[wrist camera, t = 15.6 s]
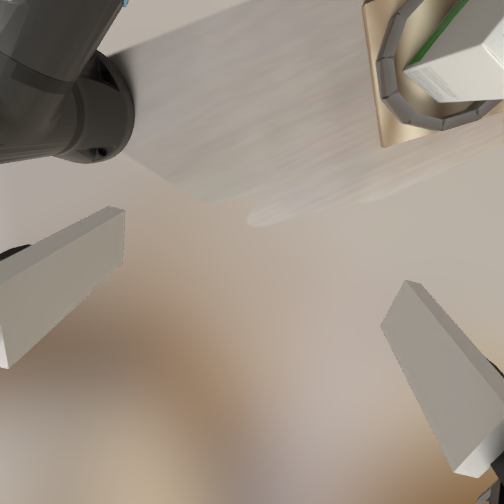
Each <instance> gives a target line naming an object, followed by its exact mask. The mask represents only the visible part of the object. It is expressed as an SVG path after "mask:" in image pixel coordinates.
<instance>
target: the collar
mask: <svg viewBox="0 0 504 504" xmlns="http://www.w3.org/2000/svg"><path fill="white" fill-rule="evenodd" d="M457 1H459V0H374V1H372V2H369V3H367V4H364V6H363V7H362V13H363V20H364V27H365V34H366V41H367V48H368V55H369V62H370V69H371V76H372V84H373V91H374V98H375V105H376V112H377V119H378V126H379V133H380V140H381V147H383V148H385V147H389V146H392V145H395V144H398V143H402V142H405V141H408V140H411V139H415V138H418V137H421V136H424V135H428V134H431V133H434V132H438V131H444V130H448V129H451V128H454V127H457V126H461V125H464V124H467V123H471V122H474V121H477V120H479V119H481V118H483V117H487V116H490V115H493V114H496V113H500V112H503V111H504V99H497V100H479V101H461V102H443V103H437V102H436V101H435V100H434V99H433V98H432V97H431V96H429V95H428V94H427V93H426V92H425V91H424V90H423V89H421V88H420V87H419V86H418V85H417V84H416V83H415V82H413V81H412V80H411V79H410V78H409V77H408V76H407V75H406V74H405V73H404V72H403V69H404V68H405V66H406V65H407V64H408V63H409V62H410V60H411V59H412V58H413V57H414V55H415V54H416V53H417V52H418V50H419V49H420V48H421V46H422V45H423V44H424V43H425V41H426V40H427V39H428V37H429V36H430V35H431V34H432V32H433V31H434V30H435V28H436V27H437V26H438V25H439V23H440V22H441V21H442V20H443V19H444V17H445V16H446V15H447V14H448V12H449V11H450V10H451V8H452V7H453V6H454V5H455V3H456V2H457Z"/></svg>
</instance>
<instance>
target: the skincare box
mask: <svg viewBox="0 0 504 504" xmlns="http://www.w3.org/2000/svg"><path fill="white" fill-rule="evenodd" d="M403 72H404V73H405V74H406V75H407V76H408V77H409V78H410V79H411V80H412V81H413V82H415V83H416V84H417V85H418V86H419V87H420V88H421V89H423V90H424V91H425V92H426V93H427V94H428V95H429V96H431V97H432V98H433V99H434V100H435V101H436V102H437V103H443V102H461V101H479V100H497V99H504V0H459V1H457V2H456V3H455V5H454V6H453V7H452V8H451V10H450V11H449V12H448V14H447V15H446V16H445V17H444V19H443V20H442V21H441V22H440V23H439V25H438V26H437V27H436V28H435V30H434V31H433V32H432V34H431V35H430V36H429V37H428V39H427V40H426V41H425V43H424V44H423V45H422V46H421V48H420V49H419V50H418V52H417V53H416V54H415V55H414V57H413V58H412V59H411V60H410V62H409V63H408V64H407V65H406V66H405V68H404V69H403Z"/></svg>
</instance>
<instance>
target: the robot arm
mask: <svg viewBox="0 0 504 504" xmlns="http://www.w3.org/2000/svg"><path fill="white" fill-rule="evenodd" d="M127 4H128V0H0V164H3V163H9V162H15V161H21V160H28V159H34V158H41V157H48V156H54V157H58V158H61V159H64V160H68V161H71V162H76V163H83V164H90V163H97V162H102V161H105V160H108V159H111V158H113V157H114V156H116V155H117V154H119V153H120V152H121V151H122V150H123V148H124V147H125V146H126V144H127V143H128V141H129V139H130V136H131V134H132V130H133V125H134V107H133V102H132V97H131V94H130V91H129V88H128V86H127V84H126V82H125V80H124V78H123V76H122V75H121V73H120V72H119V70H118V69H117V68H116V66H115V65H114V64H113V63H112V62H111V61H110V60H109V59H108V58H107V57H106V56H105V55H104V54H102V53H101V52H99V51H98V50H96V49H97V47H98V46H99V44H100V42H101V41H102V39H103V38H104V36H105V34H106V33H107V31H108V29H109V28H110V26H111V24H112V23H113V21H114V20H115V18H116V16H117V14H118V13H119V12H120V10H121V8H122V7H126V5H127ZM124 229H125V210H123V209H118V208H115V207H110V206H108V207H106V208H104V209H102V210H100V211H98V212H96V213H94V214H92V215H90V216H88V217H86V218H84V219H82V220H80V221H78V222H76V223H74V224H72V225H71V226H69V227H67V228H65V229H63V230H61V231H59V232H57V233H55V234H53V235H51V236H49V237H47V238H45V239H43V240H41V241H39V242H37V243H36V244H33V245H29V244H28V245H24V246H20V247H16V248H12V249H9V250H7V251H5V252H3V253H1V254H0V367H2V368H6V369H9V368H10V367H11V366H12V365H14V364H15V363H16V362H17V361H18V360H19V359H20V358H21V357H22V356H23V355H24V354H25V353H26V352H27V351H29V349H31V348H32V347H33V346H34V345H35V344H36V343H37V342H38V341H39V340H40V339H42V338H43V337H44V336H45V335H46V334H47V333H48V332H49V331H50V330H51V329H52V328H53V327H54V326H55V325H57V324H58V323H59V322H60V321H61V320H62V319H63V318H64V317H65V316H66V315H67V314H69V312H71V311H72V310H73V309H74V308H75V307H76V306H77V305H78V304H79V303H80V302H81V301H83V300H84V299H85V298H86V297H87V296H88V295H89V294H90V293H91V292H92V291H93V290H94V289H95V288H97V287H98V286H99V285H100V284H101V283H102V282H103V281H104V280H105V279H106V278H107V277H108V276H109V275H111V274H112V273H113V272H114V271H115V270H116V269H117V268H118V267H119V266H120V265H121V264H122V263H123V249H124ZM380 327H381V329H382V330H383V333H384V335H385V336H386V339H387V341H388V343H389V345H390V347H391V349H392V351H393V353H394V355H395V357H396V359H397V361H398V363H399V365H400V367H401V368H402V371H403V373H404V374H405V377H406V379H407V381H408V383H409V385H410V387H411V389H412V391H413V393H414V395H415V397H416V399H417V401H418V403H419V405H420V406H421V409H422V411H423V413H424V415H425V417H426V419H427V421H428V423H429V425H430V427H431V428H432V431H433V433H434V435H435V437H436V439H437V441H438V442H439V444H440V446H441V449H442V451H443V452H444V455H445V456H446V459H447V460H448V462H449V464H450V466H451V469H452V471H453V472H454V473H459V474H463V475H467V476H471V477H476V478H479V477H480V476H481V475H482V474H483V473H484V472H485V471H486V470H487V469H488V468H489V467H490V466H491V467H492V468H493V470H494V471H495V473H496V475H497V476H498V478H499V479H498V480H497V481H496V482H495V483H494V484H492V486H490V487H489V488H488V489H487V490H486V491H485V492H484V493H483V494H482V495H481V496H480V497H479V498H478V499H477V501H476V502H477V503H479V504H482V503H483V502H485V501H489V504H504V375H503V373H502V372H501V371H500V370H499V369H498V368H497V367H496V366H495V365H494V364H493V363H492V362H491V361H489V360H488V359H487V358H486V357H485V356H484V355H483V354H482V353H481V352H480V351H479V350H478V348H477V347H476V346H475V345H474V344H473V343H472V342H471V340H470V339H469V338H468V337H467V336H466V335H465V334H464V332H463V331H462V330H461V329H460V328H459V327H458V326H457V324H455V322H454V321H453V320H452V319H451V318H450V317H449V315H448V314H447V313H446V312H445V311H444V310H443V309H442V307H441V306H440V305H439V304H438V303H437V302H436V301H435V299H434V298H433V297H432V296H431V295H430V294H429V293H428V292H427V290H426V289H425V288H424V287H423V286H422V285H421V284H419V283H415V282H411V281H407V280H405V281H404V283H403V285H402V286H401V288H400V290H399V292H398V294H397V296H396V298H395V299H394V301H393V303H392V305H391V307H390V309H389V310H388V313H387V314H386V316H385V318H384V320H383V322H382V323H381V325H380Z"/></svg>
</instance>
